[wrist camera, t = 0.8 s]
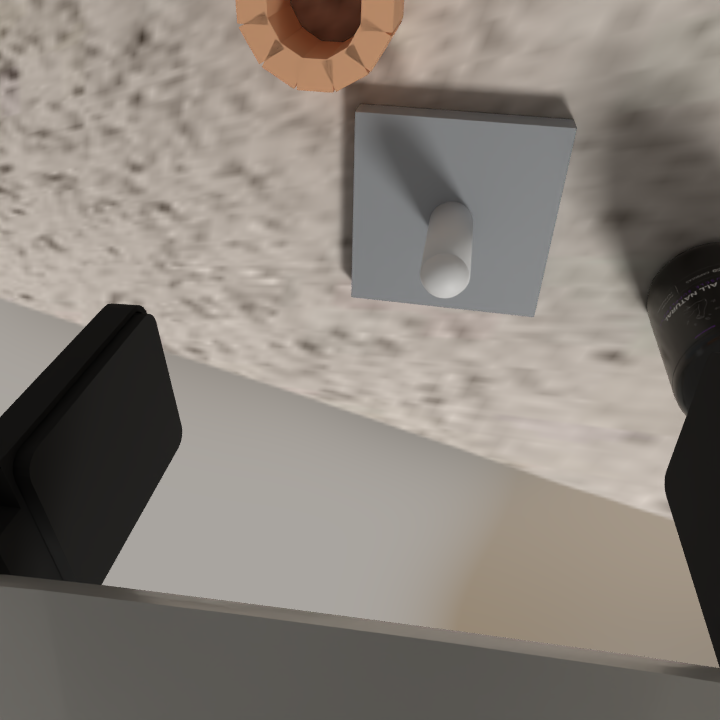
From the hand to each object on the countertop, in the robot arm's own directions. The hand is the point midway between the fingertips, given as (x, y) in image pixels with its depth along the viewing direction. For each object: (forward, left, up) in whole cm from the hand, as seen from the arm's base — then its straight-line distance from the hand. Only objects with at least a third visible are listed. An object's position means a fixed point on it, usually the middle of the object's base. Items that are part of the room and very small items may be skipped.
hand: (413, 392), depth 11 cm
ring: (-3, -7, -26) cm, 27 cm away
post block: (+8, 0, -26) cm, 27 cm away
